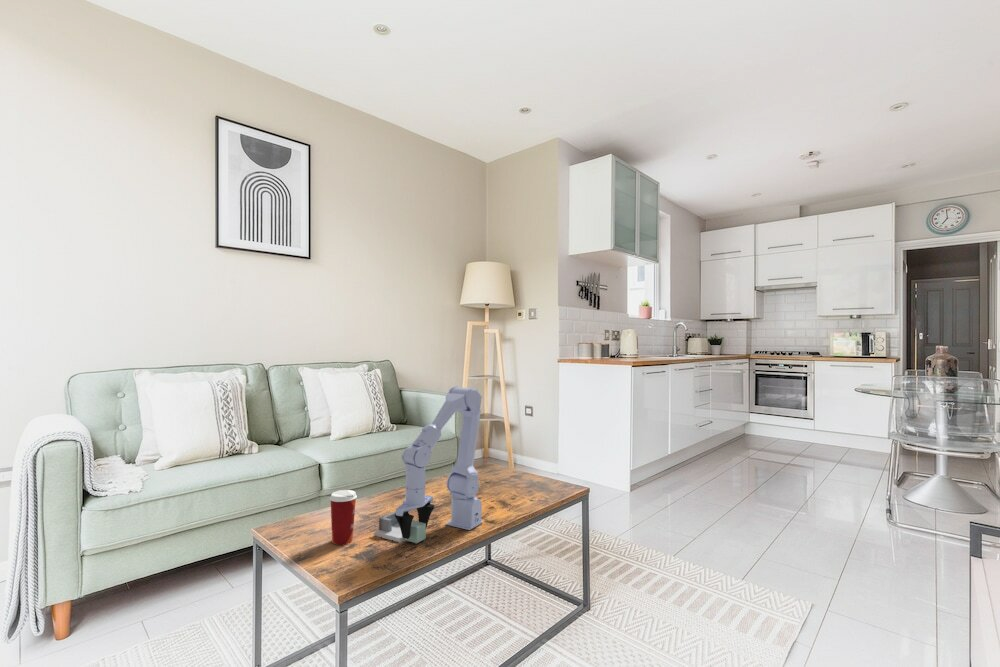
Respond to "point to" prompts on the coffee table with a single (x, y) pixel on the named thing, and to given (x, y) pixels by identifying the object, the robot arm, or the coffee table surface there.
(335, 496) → the paper cup
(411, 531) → the pale green block
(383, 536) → the dock
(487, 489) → the coffee table surface
